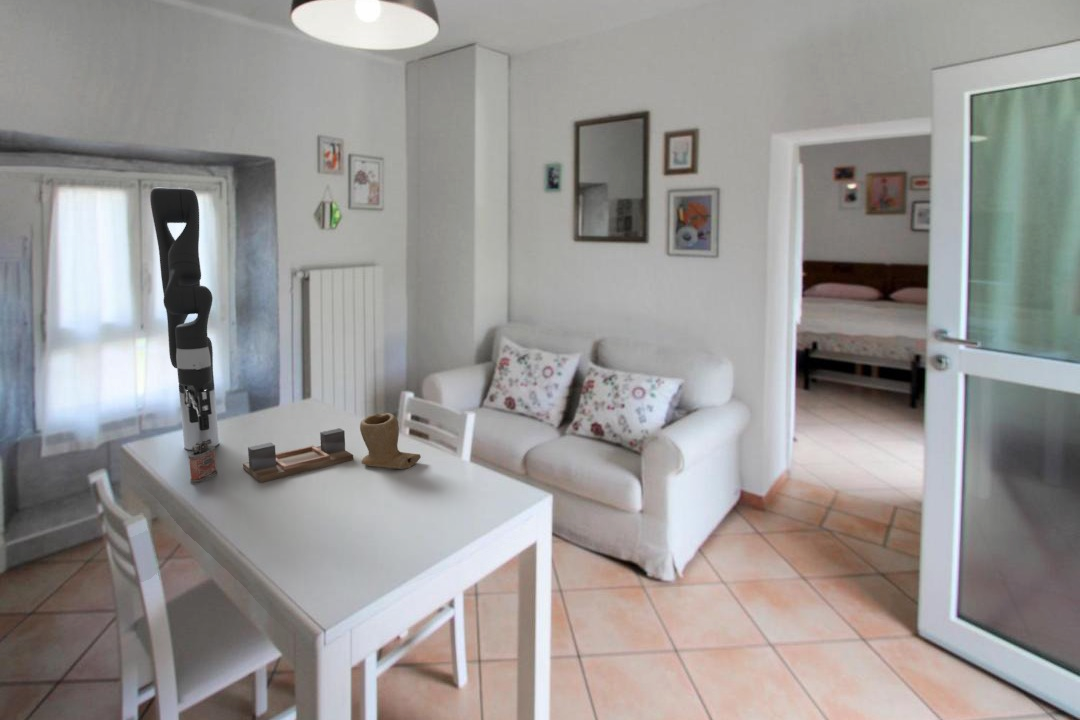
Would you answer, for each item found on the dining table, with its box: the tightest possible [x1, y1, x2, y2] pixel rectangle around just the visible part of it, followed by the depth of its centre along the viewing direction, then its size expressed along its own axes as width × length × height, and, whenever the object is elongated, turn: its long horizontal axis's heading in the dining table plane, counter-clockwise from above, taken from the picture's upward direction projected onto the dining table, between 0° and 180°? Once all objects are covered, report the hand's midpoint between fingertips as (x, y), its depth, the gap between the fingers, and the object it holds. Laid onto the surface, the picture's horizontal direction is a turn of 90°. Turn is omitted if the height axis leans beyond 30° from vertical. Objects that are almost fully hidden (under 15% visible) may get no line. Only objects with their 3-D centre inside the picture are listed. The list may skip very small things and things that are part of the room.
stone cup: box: [359, 412, 422, 470], centre depth 173 cm, size 15×12×15 cm
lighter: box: [187, 439, 218, 485], centre depth 162 cm, size 8×3×10 cm, turn 168°
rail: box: [242, 428, 354, 484], centre depth 174 cm, size 13×26×8 cm, turn 134°
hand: (199, 426), depth 160 cm, fingers open, 8 cm apart
